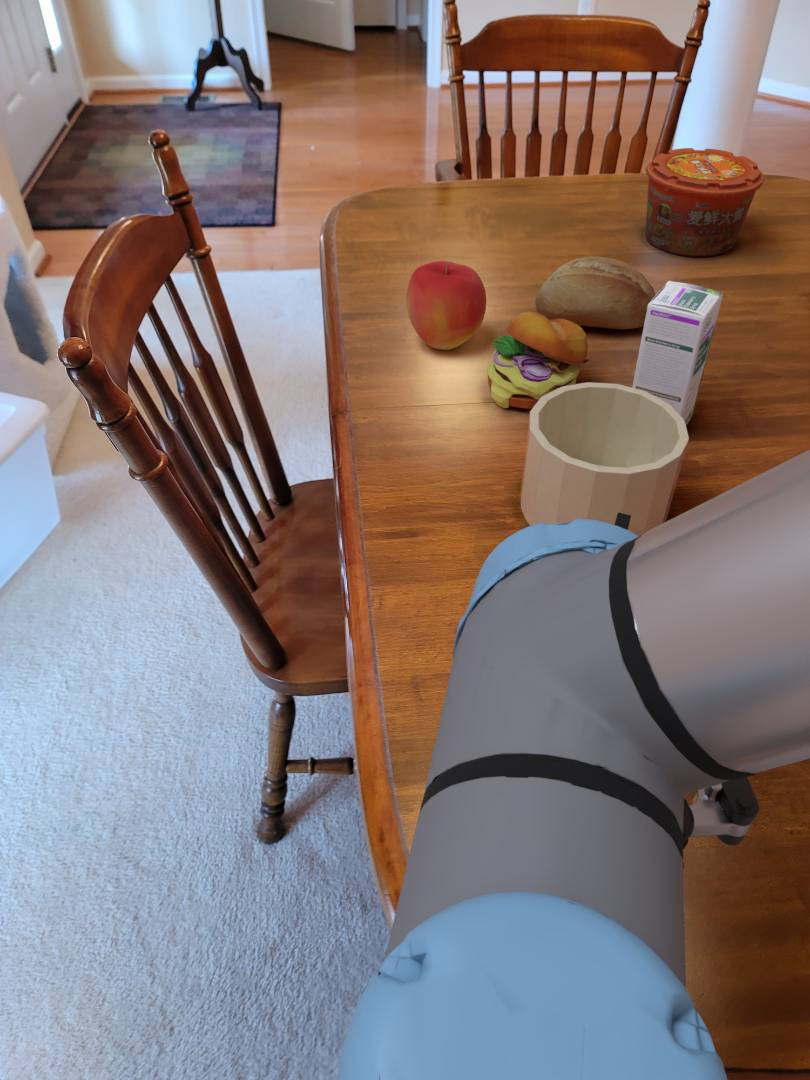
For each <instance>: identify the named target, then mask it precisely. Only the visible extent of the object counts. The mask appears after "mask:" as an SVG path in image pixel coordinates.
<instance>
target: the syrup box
mask: <svg viewBox="0 0 810 1080" xmlns="http://www.w3.org/2000/svg"><path fill="white" fill-rule="evenodd" d="M655 294H656V295H655V297H654V298H653V299H652V300H651V302H650V303H649V304H648V307H647V313H646V318H645V323H644V326H643V329H642V334H641V340H640V345H639V348H638V354H637V359H636V366H635V369H634V374H633V380H632V386H631V388H635V389H639V390H643V391H645V392H648V393H650V394H652V395H653V396H655V397H657V398H659V399H661V400H663V401H665V402H666V403H668V404H670V405H671V406H672V407H673V408H674V409H675V411H676V412H677V413H678V414H679V415H680V416H681V417H682V418H683V419H684V420H685V424H686V426H687V425H688V424H689V422H690V420H691V418H692V417H693V415H694V411H695V408H696V403H697V399H698V397H699V396H698V395H699V391H700V388H701V384H702V380H703V375H704V373H705V372H704V371H705V368H706V363H707V361H708V357H709V352H710V348H711V344H712V339H713V336H714V332H715V328H716V324H717V319H718V316H719V312H720V308H721V304H722V301H723V296H724V295H723V293H722V292H720V291H718V290H714V289H711V288H708V287H704V286H701V285H697V284H691V283H685V282H679V281H672V280H667V282H666V283H665V284H664V286H663V287H662V288H661V289H660V290H659V291H658V292H657V293H655Z"/></svg>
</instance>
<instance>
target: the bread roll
mask: <svg viewBox="0 0 810 1080" xmlns="http://www.w3.org/2000/svg"><path fill="white" fill-rule="evenodd" d="M656 294H657V293H656V292H655V289H654V287H653V286H652V284H651V283H650V282H649V280H648V279H646V277H645V276H644V274H643V273H641V272H640V271H638V270H637V269H636V268H634V267H633V266H632V265H630V264H628V263H627V262H625V261H623V260H622V261H621V260H618V259H616V258H611V257H602V256H584V257H579V258H578V257H577V258H575V259H572V260H570V261H568V262H566V263H564V264H562V265H560V266H559V267H558V268H557V269H556V270H554V271H553V272H552V274H550V276H549V277H548V279H546V281H545V282H544V283H543V284H542V286H541V287H540V289H539V290H538V292H537V293H536V297H535V308H536V313H539V314H541V315H543V316H545V317H546V318H548V319H549V320H553V319H565V320H568V321H571V322H573V323H575V324H577V325H579V326H580V327H590V328H591V327H592V328H603V329H616V330H632V329H633V330H634V329H637V328H638V329H639V328H642V327H644V323H645V318H646V313H647V307H648V304H649V303H650V302H651V300H652V299H653V298H654V297H655V295H656Z"/></svg>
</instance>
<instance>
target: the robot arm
mask: <svg viewBox="0 0 810 1080" xmlns="http://www.w3.org/2000/svg"><path fill="white" fill-rule="evenodd" d="M630 519H631V515H627V514H623V513H618V514H617V518H616V521H615V524H614V525H612V524H609V523H605V522H601V521H597V520H589V519H575V520H574V521H572V522H571V523H556V524H547V523H546V522H541V523H538V524H534V525H531V526H530V525H528V526H526V527H524V528H522V529H520V530H517V531H516V532H514V533H513V534H511V535H510V536H508V537H506V538H505V539H503V541H501V542H500V543H499V544H498V545H497V546H496V547H495V548H494V549H493V550H492V551H491V553H489V555H488V556H487V558H486V559H485V560H484V563H483V564H482V566H481V567H480V570H479V573H478V574H477V577H476V580H475V583H474V587H473V589H472V592H471V596H470V598H469V602H468V605H467V608H466V611H465V613H464V614H463V615H461V618H460V619H459V622H458V625H457V628H456V633H455V636H454V637H455V638H454V639H455V640H454V643H453V650H452V662H451V667H450V672H449V676H448V681H447V685H446V691H445V696H444V700H443V704H442V709H441V713H440V719H439V723H438V727H437V732H436V737H435V741H434V746H433V749H432V756H431V761H430V764H429V769H428V774H427V779H426V784H425V788H424V794H423V797H422V801H421V803H420V804H421V805H420V809H419V813H418V817H417V821H416V824H415V825H416V826H415V830H414V834H413V837H412V842H411V846H410V851H409V855H408V859H407V863H406V867H405V870H404V871H405V872H404V876H403V880H402V884H401V889H400V893H399V896H398V901H397V905H396V909H395V914H394V918H393V922H392V926H391V930H390V934H389V939H388V942H387V947H386V952H385V955H384V960H383V962H382V964H381V966H380V968H379V970H377V972H376V973H374V975H373V976H371V978H370V979H369V982H368V983H367V985H366V986H365V988H364V990H363V992H362V993H361V996H360V997H359V1000H358V1001H357V1004H356V1007H355V1009H354V1011H353V1013H352V1015H351V1018H350V1021H349V1024H348V1027H347V1030H346V1034H345V1037H344V1039H343V1040H344V1041H343V1043H342V1048H341V1053H340V1057H339V1064H338V1072H337V1080H728V1076H727V1073H726V1070H725V1065H724V1063H723V1060H722V1059H721V1057H720V1056H719V1054H718V1053H717V1050H716V1048H715V1045H714V1042H713V1039H712V1036H711V1033H710V1030H709V1029H708V1027H707V1026H706V1024H705V1022H704V1020H703V1019H702V1017H701V1015H700V1013H699V1012H698V1010H697V1008H696V1006H695V1004H694V1001H693V999H692V997H691V995H690V993H689V992H688V990H687V975H686V973H687V970H686V969H687V968H686V926H685V924H686V922H685V886H684V885H685V881H684V880H685V878H684V875H685V872H684V870H685V862H684V850H685V849H686V847H687V845H688V844H689V840H690V838H699V837H712V836H713V837H714V836H715V837H716V838H718V840H719V841H720V842H721V843H723V844H725V845H726V846H733V847H734V846H738V845H740V844H741V843H742V842H743V841H744V839H745V837H746V835H747V833H748V832H749V829H750V827H751V826H752V824H753V822H754V820H755V819H756V816H757V815H758V814H759V810H760V805H759V801H758V800H757V797H756V795H755V792H754V789H753V787H752V785H751V782H750V780H749V777H752V776H755V775H756V774H757V775H758V773H762V772H765V771H768V770H772V769H776V768H779V767H783V766H787V765H790V764H794V763H795V764H796V763H798V762H802V761H805V760H809V759H810V449H808V450H805V451H804V452H802V453H799V454H798V455H796V456H794V457H792V458H790V459H788V460H786V461H784V462H782V463H779V464H778V465H776V466H774V467H772V468H769V469H768V470H766V471H764V472H762V473H760V474H758V475H756V476H754V477H753V478H750V479H748V480H746V481H744V482H742V483H740V484H738V485H736V486H734V487H733V488H730V489H728V490H726V491H724V492H722V493H720V494H719V495H716V496H715V497H713V498H711V499H709V500H707V501H705V502H703V503H701V504H699V505H697V506H695V507H693V508H691V509H689V510H687V511H685V512H683V513H681V514H678V515H677V516H674V517H673V518H671V519H669V520H667V521H665V523H663V524H661V525H659V526H657V527H655V528H653V529H651V530H649V531H647V532H646V533H644V534H643V535H641V536H637V535H635V534H634V533H632V532H630V531H628V527H629V523H630ZM694 792H695V793H694ZM691 793H694V795H693V798H692V803H691V804H689V803H688V801H687V800H686V797H687V796H688V795H689V794H691Z"/></svg>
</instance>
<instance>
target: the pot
mask: <svg viewBox="0 0 810 1080" xmlns="http://www.w3.org/2000/svg"><path fill="white" fill-rule="evenodd" d="M689 441H690V437H689V432H688V429H687V425H686V424H685V420H684V419H683V418H682V417H681V416H680V415H679V414H678V413H677V412H676V411H675V409H674V408H673V407H672V406H671V405H670V404H668V403H666V402H665V401H663V400H661V399H659V398H657V397H655V396H653V395H652V394H650V393H648V392H645V391H643V390H639V389H635V388H632V386H627V385H623V384H620V383H611V382H608V383H607V382H594V381H593V382H591V381H589V382H588V381H587V382H586V381H585V382H581V383H576V384H574V385H568V386H563V387H560V388H558V389H556V390H554V391H552V392H550V393H548V394H546V395H544V396H542V397H541V398H540V399H539V401H538V402H537V403H536V405H535V406H534V407H533V408H532V409H531V410H529V417H528V426H527V434H526V442H525V449H524V450H525V451H524V452H525V453H524V459H523V468H522V476H521V484H520V499H519V502H520V503H519V504H520V508H521V512H522V515H523V516H524V519H525V520H526V522H527V523H528V524H529V525H528V526H531V525H534V524H538V523H541V522H546V523H547V524H556V523H571V522H572V521H574V520H575V519H589V520H597V521H601V522H605V523H609V524H612V525H614V524H615V521H616V518H617V514H618V513H623V514H627V515H631V519H630V523H629V527H628V531H630V532H632V533H634V534H635V535H637V536H641V535H643V534H644V533H646V532H647V531H649V530H651V529H653V528H655V527H657V526H659V525H661V524H663V523H665V522H666V520H667V518H668V515H669V513H670V508H671V505H672V501H673V498H674V494H675V491H676V487H677V484H678V481H679V477H680V473H681V469H682V466H683V463H684V459H685V454H686V452H687V447H688V445H689Z"/></svg>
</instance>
